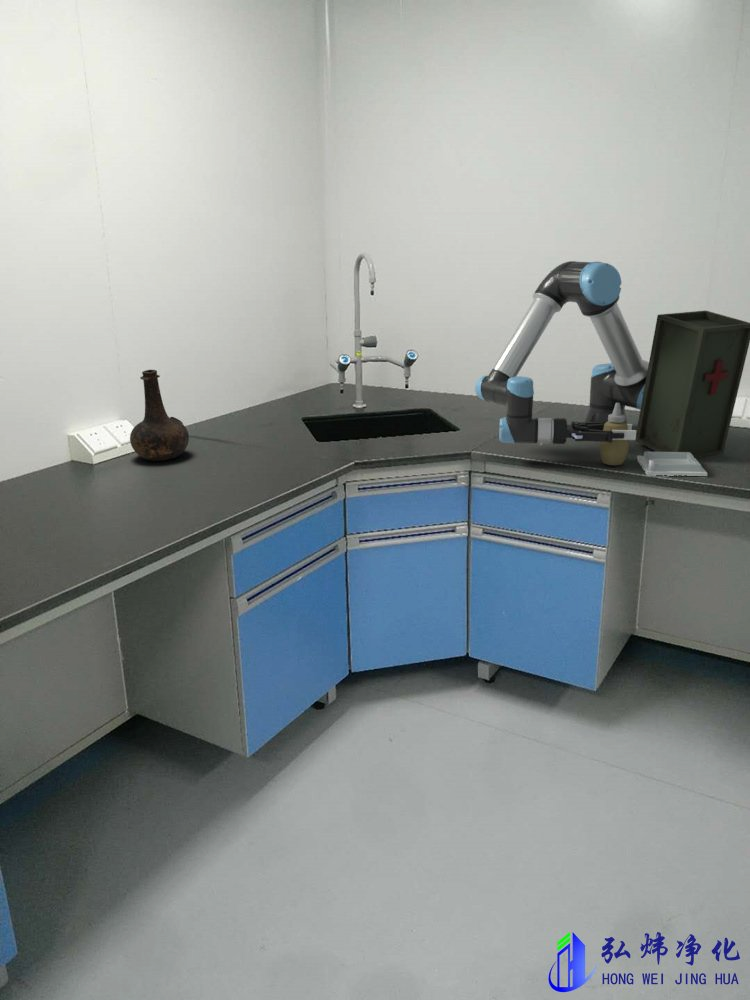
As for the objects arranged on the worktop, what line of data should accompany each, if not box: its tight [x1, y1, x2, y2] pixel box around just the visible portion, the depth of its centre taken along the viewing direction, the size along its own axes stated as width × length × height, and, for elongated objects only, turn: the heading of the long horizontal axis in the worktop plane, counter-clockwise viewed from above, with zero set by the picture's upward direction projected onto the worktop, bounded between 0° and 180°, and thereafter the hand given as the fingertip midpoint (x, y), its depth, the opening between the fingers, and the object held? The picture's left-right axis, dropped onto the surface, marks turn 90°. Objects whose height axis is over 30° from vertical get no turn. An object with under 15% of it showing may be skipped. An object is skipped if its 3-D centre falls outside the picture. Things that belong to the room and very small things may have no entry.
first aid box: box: [634, 310, 750, 458], centre depth 227 cm, size 18×18×40 cm
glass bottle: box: [129, 369, 190, 462], centre depth 237 cm, size 18×18×28 cm
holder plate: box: [636, 451, 708, 477], centre depth 218 cm, size 16×16×4 cm
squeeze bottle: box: [599, 403, 629, 466], centre depth 220 cm, size 8×8×18 cm
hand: (633, 431), depth 219 cm, fingers closed on squeeze bottle, 6 cm apart
